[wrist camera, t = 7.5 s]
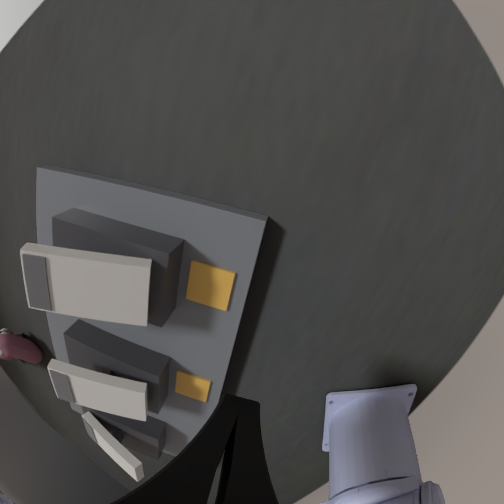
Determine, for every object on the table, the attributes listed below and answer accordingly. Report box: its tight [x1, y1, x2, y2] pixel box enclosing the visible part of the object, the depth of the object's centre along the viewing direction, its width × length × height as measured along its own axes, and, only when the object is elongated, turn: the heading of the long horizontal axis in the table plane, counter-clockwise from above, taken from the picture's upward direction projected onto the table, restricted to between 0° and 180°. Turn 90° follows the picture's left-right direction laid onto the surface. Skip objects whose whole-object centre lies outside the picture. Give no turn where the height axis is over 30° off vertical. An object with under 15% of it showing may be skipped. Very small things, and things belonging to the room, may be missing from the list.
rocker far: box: [82, 411, 144, 482], centre depth 23 cm, size 8×4×1 cm, turn 76°
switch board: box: [36, 165, 268, 460], centre depth 22 cm, size 18×30×5 cm, turn 167°
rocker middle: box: [47, 359, 148, 421], centre depth 19 cm, size 8×4×1 cm, turn 77°
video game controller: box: [0, 328, 43, 364], centre depth 26 cm, size 10×5×7 cm, turn 106°
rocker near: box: [20, 243, 152, 326], centre depth 15 cm, size 8×4×1 cm, turn 77°
